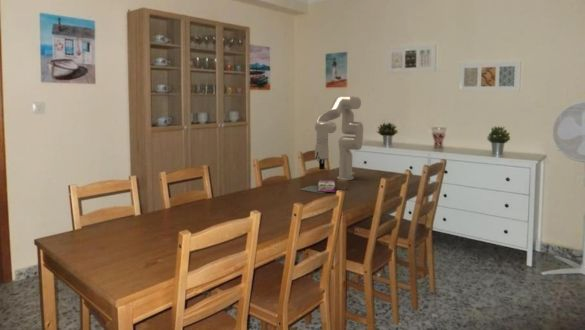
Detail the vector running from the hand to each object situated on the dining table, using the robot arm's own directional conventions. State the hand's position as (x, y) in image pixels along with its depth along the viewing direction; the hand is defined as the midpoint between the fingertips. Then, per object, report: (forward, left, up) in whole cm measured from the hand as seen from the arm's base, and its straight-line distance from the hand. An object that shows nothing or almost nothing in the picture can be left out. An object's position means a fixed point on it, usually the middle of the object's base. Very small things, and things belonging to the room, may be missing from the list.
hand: (321, 169), depth 292 cm
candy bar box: (-4, +1, -10) cm, 11 cm away
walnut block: (-7, +11, -13) cm, 19 cm away
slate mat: (+5, 0, -13) cm, 14 cm away
